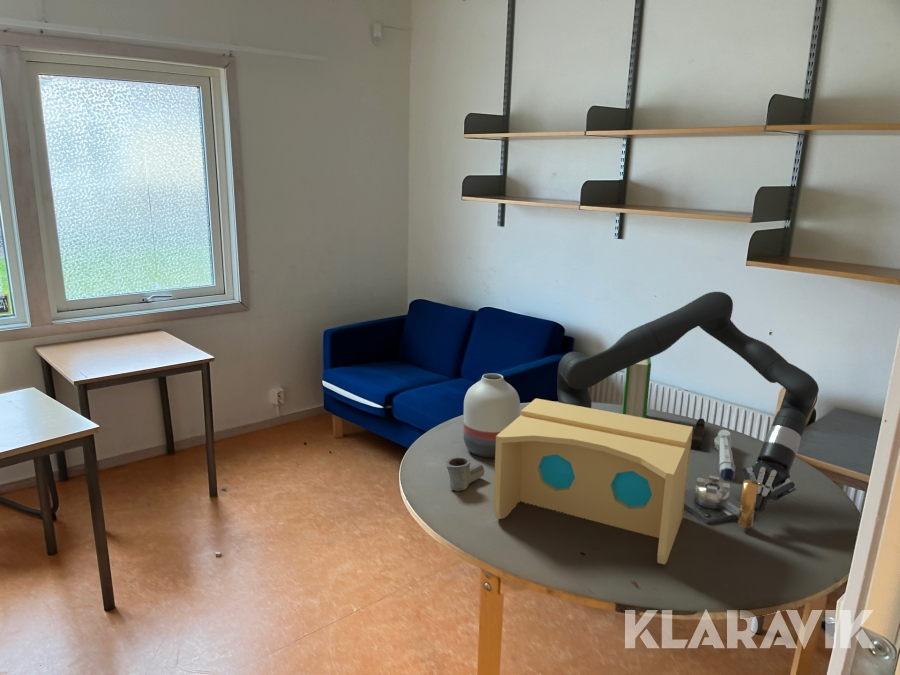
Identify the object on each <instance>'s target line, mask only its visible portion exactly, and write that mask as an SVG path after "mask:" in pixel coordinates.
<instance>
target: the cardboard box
mask: <svg viewBox="0 0 900 675" xmlns="http://www.w3.org/2000/svg"><path fill="white" fill-rule="evenodd" d="M693 432H694V427H693V426H690V425H685V424H679V423H673V422H669V421H662V420H657V419H651V418H647V417H646V418H641V417H636V416H630V415H625V414H622V413H619V412H613V411H607V410H603V409H602V410H601V409H598V408H597V409H596V408H593V407H591V408H586V407H581V406H575V405H570V404H564V403H559V401H552V400H548V399H542V398H541V399H540V398H534V399H533V400H532V401H531V402H530V403H528V404H527V405H526V406H525V407H523V409H520V416H519V417H518V418H517V419H516V420H514V421H513V422H512V423H511V424H510V425H508V426H507V427H506V428H505V429H504V430H503V431H501V432H500V433H499V434H498V435H497V436H496V450H495V459H494V482H493V483H494V485H493V486H494V487H493V513H494V518H496V519H499V520H503V519H506V518H507V517H508V516H509V514H510V513H511V512H512V511H513V510H514V509H515V508H516V506H517V505H518V504H519V503H520V502H519V501H522V502H521V503H523V502H526V503H525V504H527V503H530V504H529V505H531V504H534V505H533V506H535V505H537V506H536V507H539V506H541V507H540V508H542V507H545V508H544V509H546V508H549V509H548V510H550V509H552V510H551V511H554V510H556V511H555V512H558V511H560V512H559V513H561V512H564V513H563V514H565V513H567V514H566V515H569V514H570V515H569V516H573V515H574V516H573V517H576V518H581V519H584V518H585V520H589V521H592V522H593V521H594V522H596V523H600V524H604V525H607V526H611V527H615V528H620V529H623V530H626V531H629V532H630V531H631V532H634V533H638V534H642V535H645V536H650V537H653V538H657V539H658V545H657V546H658V547H657V563H658V564H660V565H661V564H662V565H666V563H667V562H668V559H669V556H670V553H671V551H672V548H673V545H674V543H675V539H676V537H677V535H678V531H679V529H680V527H681V526H680V525H681V523H682V520H683V518H684V509H685V508H684V501H685V493H686V491H687V482H688V475H689V465H690V458H691V450H692V449H691V440H692V435H693ZM518 502H519V503H518ZM517 503H518V504H517ZM516 504H517V505H516ZM513 508H514V509H513ZM512 509H513V510H512ZM511 510H512V511H511ZM506 516H507V517H506ZM505 517H506V518H505Z"/></svg>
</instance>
